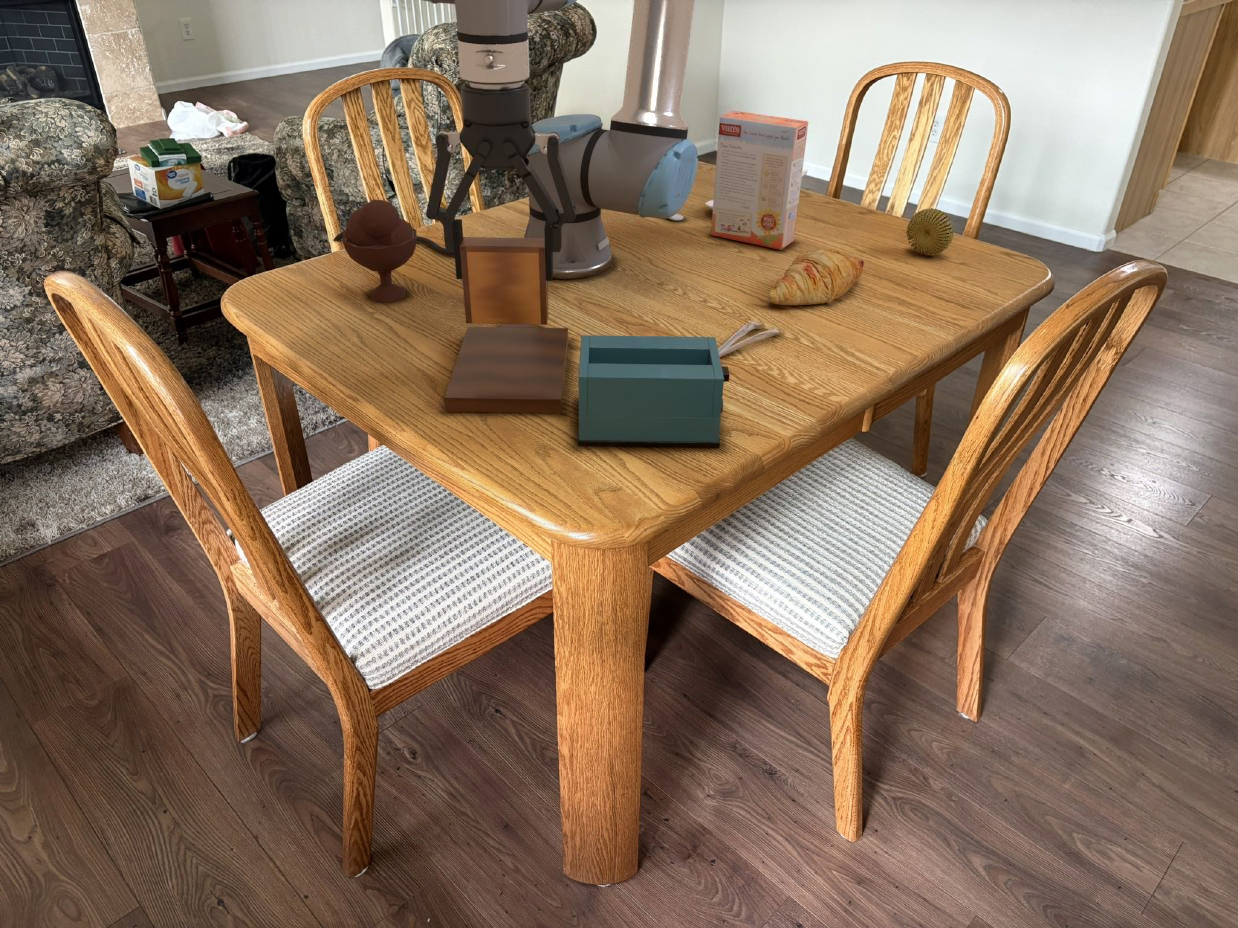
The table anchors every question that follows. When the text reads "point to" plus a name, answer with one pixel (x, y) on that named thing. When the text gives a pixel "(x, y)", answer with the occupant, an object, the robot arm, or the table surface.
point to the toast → (504, 280)
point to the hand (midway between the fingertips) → (505, 275)
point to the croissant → (816, 278)
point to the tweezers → (752, 325)
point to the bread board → (509, 370)
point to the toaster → (650, 391)
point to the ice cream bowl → (380, 244)
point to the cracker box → (758, 178)
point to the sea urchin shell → (930, 232)
